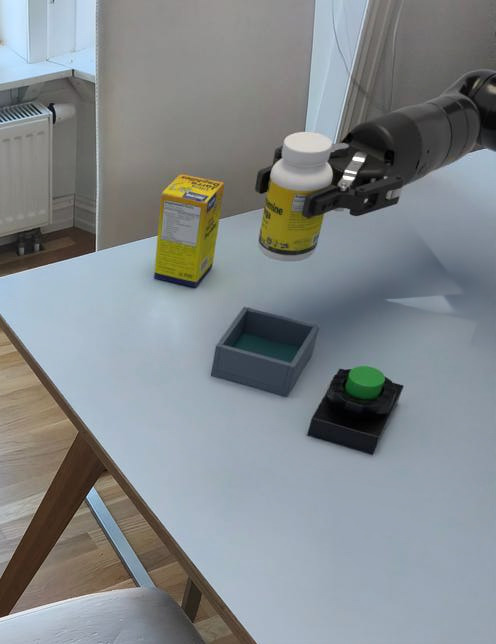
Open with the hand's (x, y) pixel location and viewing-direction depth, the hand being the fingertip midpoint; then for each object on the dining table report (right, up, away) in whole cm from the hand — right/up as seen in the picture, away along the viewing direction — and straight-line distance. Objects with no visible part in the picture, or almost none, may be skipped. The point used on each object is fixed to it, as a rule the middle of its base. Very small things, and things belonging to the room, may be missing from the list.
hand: (282, 195), depth 90 cm
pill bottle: (+2, -3, +6) cm, 7 cm away
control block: (+9, -22, +5) cm, 24 cm away
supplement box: (-5, +2, +25) cm, 26 cm away
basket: (+1, -14, +12) cm, 18 cm away
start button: (+9, -19, +2) cm, 21 cm away
